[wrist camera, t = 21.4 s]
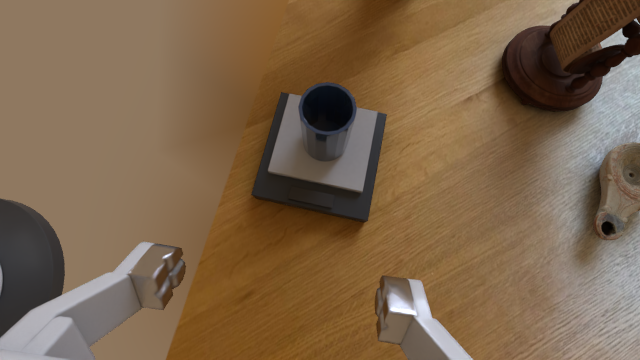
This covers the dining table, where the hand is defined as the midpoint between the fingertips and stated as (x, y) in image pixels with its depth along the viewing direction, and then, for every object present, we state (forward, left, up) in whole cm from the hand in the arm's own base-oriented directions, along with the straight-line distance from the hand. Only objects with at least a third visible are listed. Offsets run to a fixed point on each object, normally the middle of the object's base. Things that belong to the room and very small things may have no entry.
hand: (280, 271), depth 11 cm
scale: (-1, +14, -27) cm, 31 cm away
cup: (-1, +16, -24) cm, 29 cm away
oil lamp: (+42, +20, -28) cm, 54 cm away
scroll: (+31, +36, -28) cm, 55 cm away
